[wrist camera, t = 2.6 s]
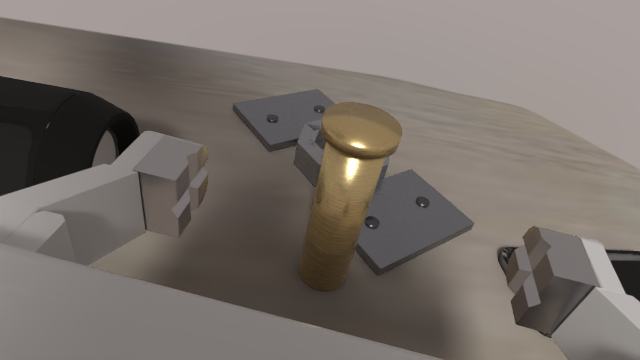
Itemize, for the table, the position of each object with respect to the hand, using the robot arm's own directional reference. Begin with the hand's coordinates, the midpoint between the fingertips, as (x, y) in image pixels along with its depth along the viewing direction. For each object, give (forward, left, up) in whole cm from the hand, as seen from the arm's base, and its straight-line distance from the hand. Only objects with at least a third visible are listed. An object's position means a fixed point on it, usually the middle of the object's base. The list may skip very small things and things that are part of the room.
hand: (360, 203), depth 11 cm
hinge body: (-19, +18, -18) cm, 31 cm away
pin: (-9, +9, -18) cm, 22 cm away
